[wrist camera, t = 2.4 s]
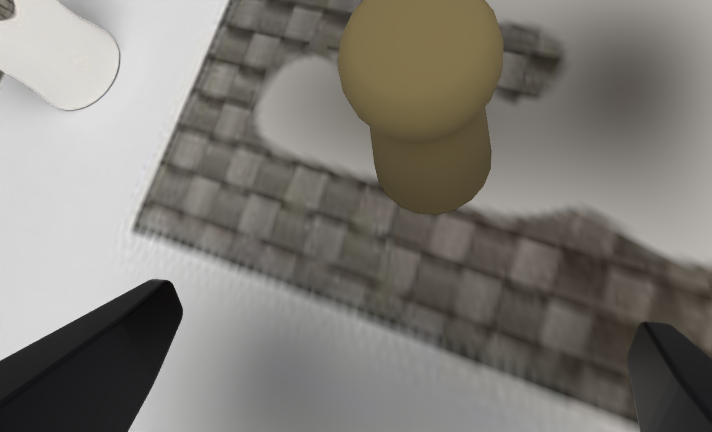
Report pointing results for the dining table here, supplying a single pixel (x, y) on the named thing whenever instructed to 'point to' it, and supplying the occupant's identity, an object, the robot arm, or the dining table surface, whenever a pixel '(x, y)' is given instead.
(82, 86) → the beer glass
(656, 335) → the robot arm
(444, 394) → the dining table surface
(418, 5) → the olive game pawn
